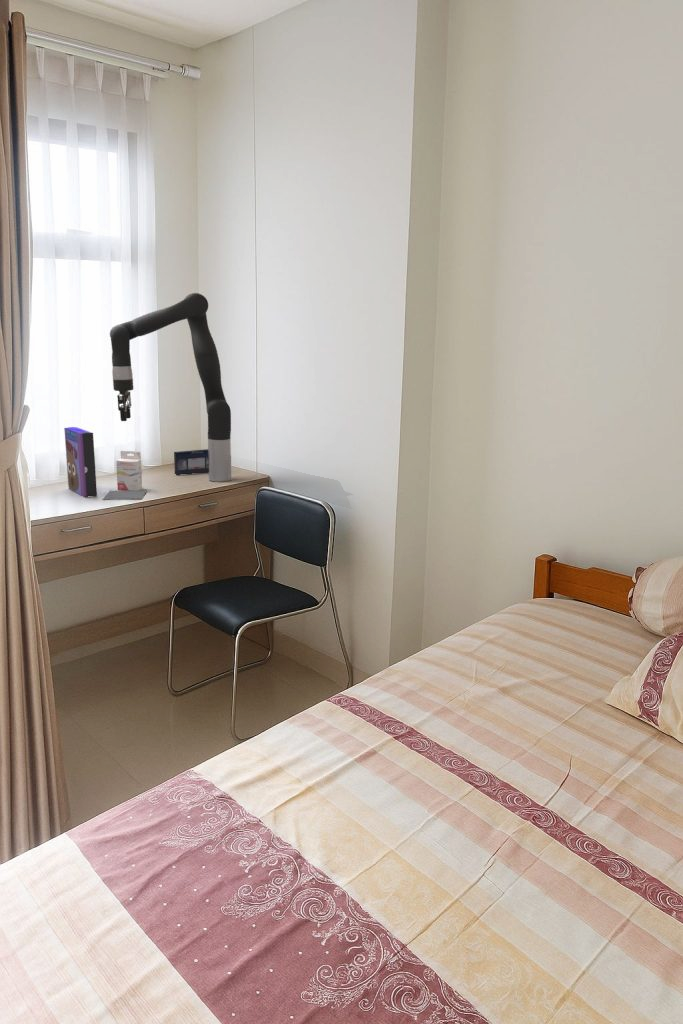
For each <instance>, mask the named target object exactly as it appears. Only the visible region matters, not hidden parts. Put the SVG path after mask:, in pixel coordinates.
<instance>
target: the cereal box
mask: <svg viewBox="0 0 683 1024" xmlns="http://www.w3.org/2000/svg"><path fill="white" fill-rule="evenodd" d="M63 430H64V431H63V432H64V443H65V456H66V457H65V458H66V468H67V469H66V470H67V472H66V473H67V482H68V483H67V484H68V486H67V487H68V490H69V491H72V492H74V493H75V494H77V495H79V496H81V497H82V496H83V498H84V497H85V498H89V497H88V496H93V497H97V496H98V491H97V489H98V488H97V474H96V460H95V459H96V458H95V457H96V456H95V442H94V432H91V431H88V430H85V429H82V428H80V427H78V426H70V427H64V429H63ZM96 495H97V496H96Z"/></svg>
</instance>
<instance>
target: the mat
mask: <svg viewBox="0 0 683 1024" xmlns="http://www.w3.org/2000/svg"><path fill="white" fill-rule="evenodd" d="M147 492H148V490H147V489H145V490H142V489H140V490H118V489H117V490H109V491H108V492H107V493H106V495H104V497H103V498H102V500H103V499H142V498H143V499H144V497H145V495H146V494H145V493H147ZM143 496H144V497H143ZM143 499H142V500H143Z"/></svg>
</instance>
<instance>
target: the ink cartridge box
mask: <svg viewBox="0 0 683 1024" xmlns="http://www.w3.org/2000/svg"><path fill="white" fill-rule="evenodd" d="M130 454H131V455H130ZM115 462H116V482H117V490H118V489H121V490H142V489H143V473H142V472H143V471H142V459H141V451H136V450H135V451H134V450H133V451H132V450H131V451H130V450H121V451H120V458H119V459H116V461H115Z"/></svg>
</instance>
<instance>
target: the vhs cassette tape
mask: <svg viewBox="0 0 683 1024" xmlns="http://www.w3.org/2000/svg"><path fill="white" fill-rule="evenodd" d="M173 460H174V462H173V463H174V464H173V465H174V475H175V474H176V475H175V476H181V475H180V474H188V475H193V474H192V473H199V474H206V473H205V472H209V463H208V448H207V449H205V448H204V449H196V450H195V449H194V450H193V449H192V450H182V451H173Z"/></svg>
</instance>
